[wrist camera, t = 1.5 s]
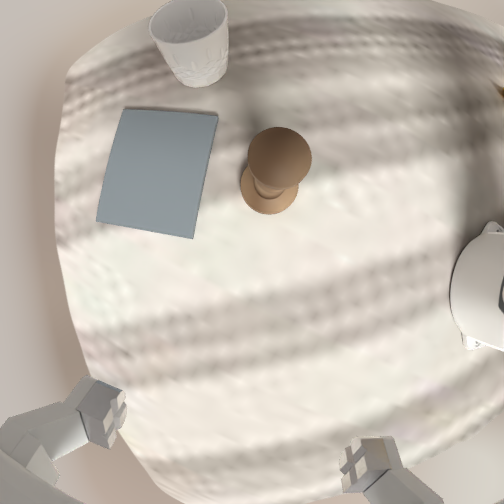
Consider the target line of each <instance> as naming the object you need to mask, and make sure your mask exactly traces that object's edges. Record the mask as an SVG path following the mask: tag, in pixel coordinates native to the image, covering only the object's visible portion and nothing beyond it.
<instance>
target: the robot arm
mask: <svg viewBox="0 0 504 504" xmlns="http://www.w3.org/2000/svg"><path fill="white" fill-rule="evenodd" d="M450 301H451V310H452V314H453V317H454V320H455V322H456V324H457V326H458V327H459V329H460V330H461V332H462V338H463V344H464V347H465V348H466V349H468V350H473V349H477V348H480V347H483V346H490V347H493V348H495V349H498V350H501V351H504V228H502V227H501V226H500V225H499V224H498V223H496V222H492V221H490V222H488V223H487V224H486V226H485V228H484V229H483V231H482V233H481V234H480V235H479V236H478V237H476V238H475V239H473V240H472V241H471V242H470V243H469V244H468V245H467V246H466V247H465V249H464V250H463V252H462V253H461V255H460V257H459V259H458V261H457V264H456V266H455V270H454V273H453V277H452V283H451V292H450ZM125 398H126V396H125V391H123V390H120V389H118V388H116V387H113V386H111V385H108V384H106V383H104V382H102V381H99V380H97V379H95V378H93V377H90V376H88V375H86V376H84V377H82V379H81V380H80V381H79V383H78V384H77V385H76V387H75V388H74V389H73V390H72V392H71V393H70V394H69V396H68V397H67V398H66V400H65V401H64V402H63V403H62V402H57V403H54V404H51V405H48V406H45V407H42V408H39V409H36V410H32V411H29V412H26V413H23V414H20V415H16V416H13V417H9V418H8V419H7V420H6V422H5V423H4V424H3V425H2V426H1V428H0V504H86V503H84V502H82V501H80V500H78V499H76V498H74V497H73V496H71V495H69V494H67V493H65V492H63V491H62V490H60V489H58V488H56V487H55V484H56V482H57V480H58V478H59V476H60V474H59V472H58V470H57V469H56V467H55V466H54V464H53V462H52V461H53V460H56V459H58V458H60V457H62V456H64V455H66V454H68V453H69V452H71V451H73V450H75V449H77V448H79V447H81V446H82V445H84V444H86V443H88V442H89V441H90V442H93V443H95V444H97V445H100V446H102V447H105V448H107V449H111V446H112V445H113V443H114V441H115V439H116V437H117V435H116V430H118V429H120V428H121V427H122V425H123V423H124V421H125V418H126V413H127V406H126V404H125V403H124V402H123V401H124V400H125ZM350 443H351V446H349V447H347V448H345V449H344V450H343V452H342V453H341V456H340V459H339V467H340V471H341V472H342V473H343V474H344V476H343V477H342V479H341V482H342V488H343V493H360V492H364V493H363V494H364V496H365V497H366V498H367V499H368V501H369V502H370V503H371V504H444V502H443V499H442V498H441V497H440V496H439V495H438V494H436V493H435V492H434V491H433V490H432V489H430V488H429V487H428V486H427V485H426V484H424V483H423V482H422V481H421V480H420V479H419V478H417V477H416V476H415V475H414V474H413V473H412V472H411V471H409V470H408V469H407V468H403V465H402V462H401V459H400V456H399V453H398V450H397V447H396V444H395V441H394V438H393V437H392V436H380V437H379V436H356V437H354V438H353V439H352V440H351V442H350ZM494 504H504V499H502V500H500V501H498V502H496V503H494Z"/></svg>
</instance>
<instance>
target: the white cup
mask: <svg viewBox="0 0 504 504" xmlns="http://www.w3.org/2000/svg"><path fill="white" fill-rule="evenodd" d="M148 30H149V33H150V35H151V37H152V39H153V40H154V42H155V44H156V46H157V47H158V49H159V51H160V53H161V54H162V56H163V58H164V59H165V61H166V62H167V64H168V66H169V67H170V69H171V70H172V71H173V73H174V75H175V76H176V78H177V80H179V81H180V82H181V83H183V84H184V85H186V86H190V87H195V88H198V87H204V86H209V85H211V84H213V83H215V82H216V81H218V80H220V79H221V77H222V76H223V75H224V74H225V73H226V71H227V65H228V40H229V37H228V10H227V8H226V6H225V4H224V3H223V2H222V1H220V0H172V1H170V2H168V3H167V4H165V5H163V6H162V7H161V8H159V9H158V10H157V11H156V12H155V13H154V15H153V16H152V17H151V19H150V22H149V26H148Z"/></svg>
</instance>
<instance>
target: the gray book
mask: <svg viewBox="0 0 504 504" xmlns="http://www.w3.org/2000/svg"><path fill="white" fill-rule="evenodd" d="M218 119H219V118H218V116H213V115H204V114H195V113H184V112H172V111H156V110H131V109H123V112H122V115H121V118H120V122H119V125H118V128H117V131H116V135H115V138H114V142H113V145H112V149H111V153H110V156H109V160H108V164H107V168H106V173H105V177H104V181H103V186H102V190H101V195H100V200H99V205H98V211H97V216H96V222H102V223H107V224H113V225H118V226H124V227H129V228H135V229H140V230H146V231H151V232H157V233H162V234H168V235H173V236H179V237H184V238H189V239H193V237H194V232H195V226H196V221H197V215H198V210H199V205H200V200H201V195H202V190H203V185H204V181H205V176H206V171H207V167H208V162H209V158H210V153H211V149H212V144H213V140H214V136H215V132H216V127H217V123H218Z"/></svg>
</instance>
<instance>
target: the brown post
mask: <svg viewBox="0 0 504 504" xmlns="http://www.w3.org/2000/svg"><path fill="white" fill-rule="evenodd" d="M311 161H312V157H311V151H310V148H309V146H308V144H307V142H306V141H305V139H304V138H303V137H302V136H301V135H300V134H298V133H297V132H295V131H293V130H291V129H288V128H283V127H273V128H269V129H266V130H264V131H262V132H260V133H259V134H258V135H257V136H256V137H255V138H254V139H253V140H252V142H251V144H250V146H249V150H248V166H247V167H246V169H245V170H244V172H243V174H242V177H241V192H242V196H243V198H244V200H245V202H246V203H247V204H248V206H249V207H250V208H252V209H253V210H255V211H257V212H259V213H262V214H276V213H279V212H281V211H283V210H285V209H286V208H287V207H289V206H290V205H291V204H292V202H293V201H294V200H295V198H296V196H297V192H298V183H300V182H301V181H302V180H303V178H304V177H305V176H306V175H307V173H308V171H309V169H310V166H311Z"/></svg>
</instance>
